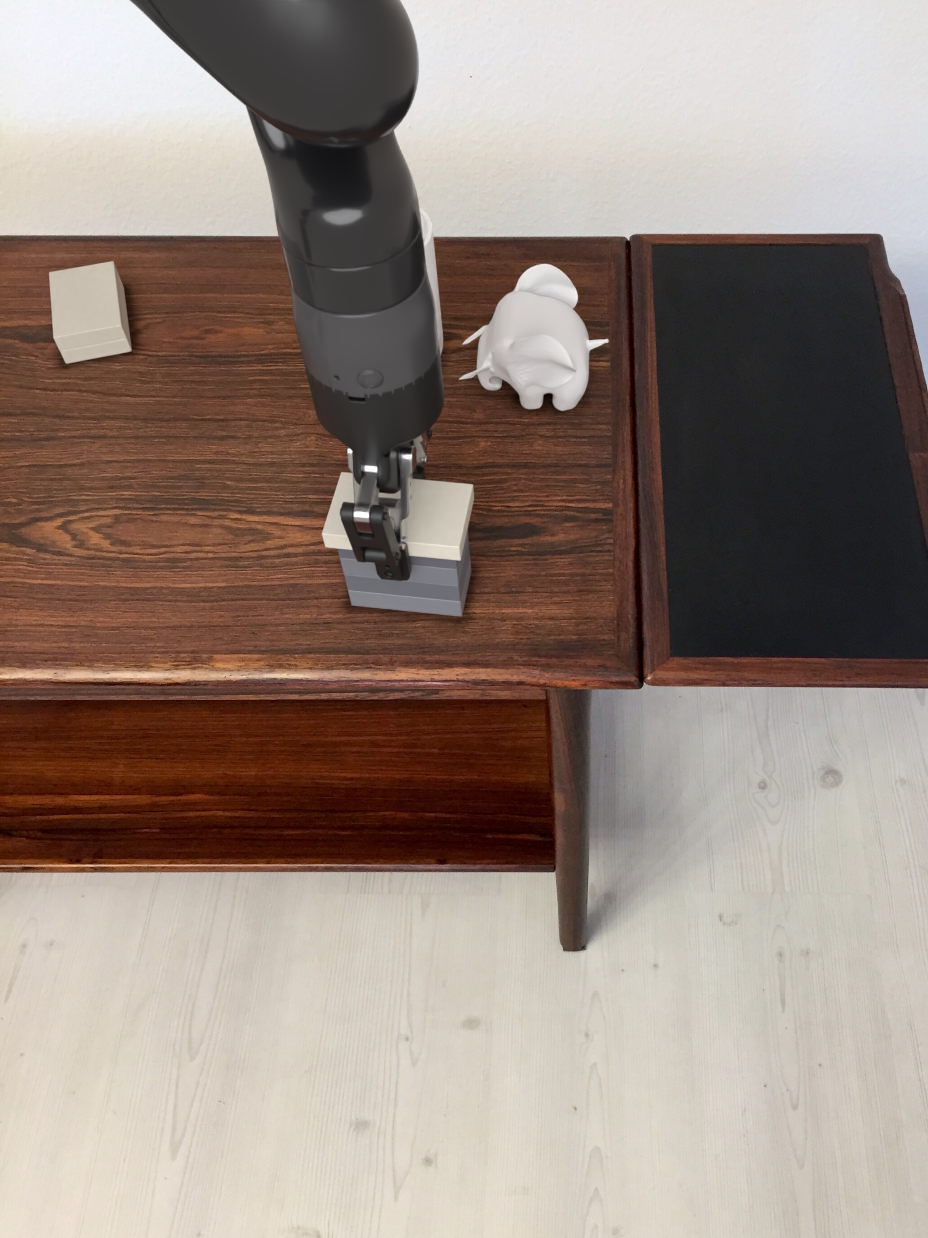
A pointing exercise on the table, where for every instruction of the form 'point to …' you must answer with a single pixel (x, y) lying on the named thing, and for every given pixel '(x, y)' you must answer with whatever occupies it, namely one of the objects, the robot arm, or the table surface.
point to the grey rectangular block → (411, 584)
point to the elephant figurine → (536, 341)
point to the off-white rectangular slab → (415, 517)
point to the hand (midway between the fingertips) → (404, 539)
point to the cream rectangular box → (89, 312)
